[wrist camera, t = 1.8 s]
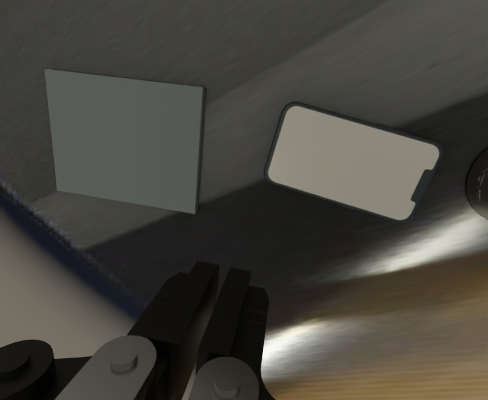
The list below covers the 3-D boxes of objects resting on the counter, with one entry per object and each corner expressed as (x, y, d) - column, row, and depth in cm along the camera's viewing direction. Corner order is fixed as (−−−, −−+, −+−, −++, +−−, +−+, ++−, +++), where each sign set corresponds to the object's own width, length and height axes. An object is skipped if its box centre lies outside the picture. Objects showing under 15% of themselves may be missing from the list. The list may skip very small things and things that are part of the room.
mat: (205, 87, 30) (202, 87, 29) (197, 210, 35) (194, 213, 34) (51, 70, 32) (44, 68, 31) (63, 188, 37) (57, 190, 36)
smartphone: (261, 179, 32) (403, 222, 31) (260, 182, 31) (408, 228, 29) (286, 98, 29) (441, 142, 28) (286, 97, 28) (450, 144, 27)
